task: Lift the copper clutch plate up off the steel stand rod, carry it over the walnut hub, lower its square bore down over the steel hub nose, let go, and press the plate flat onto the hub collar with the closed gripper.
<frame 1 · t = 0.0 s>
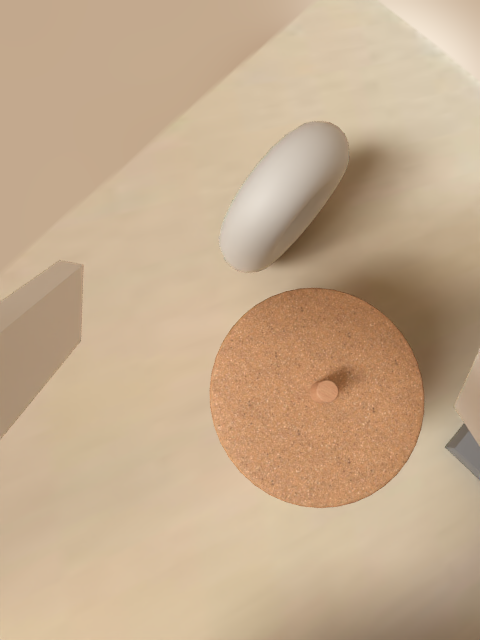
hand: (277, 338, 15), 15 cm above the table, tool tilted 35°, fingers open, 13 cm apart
grey piece: (272, 235, 32), on the table
lidded jar: (291, 397, 30), on the table
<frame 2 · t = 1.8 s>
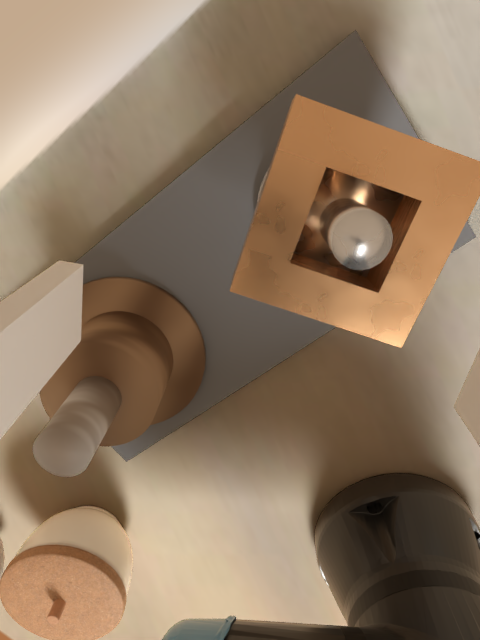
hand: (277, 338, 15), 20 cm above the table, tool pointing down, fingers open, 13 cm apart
steel stand: (327, 207, 32), resting on rubber mat
walnut hub: (126, 353, 37), resting on rubber mat
lidded jar: (93, 527, 46), on the table
rubber mat: (221, 281, 36), on the table
clutch plate: (343, 223, 26), point 8 cm above the table, touching steel stand
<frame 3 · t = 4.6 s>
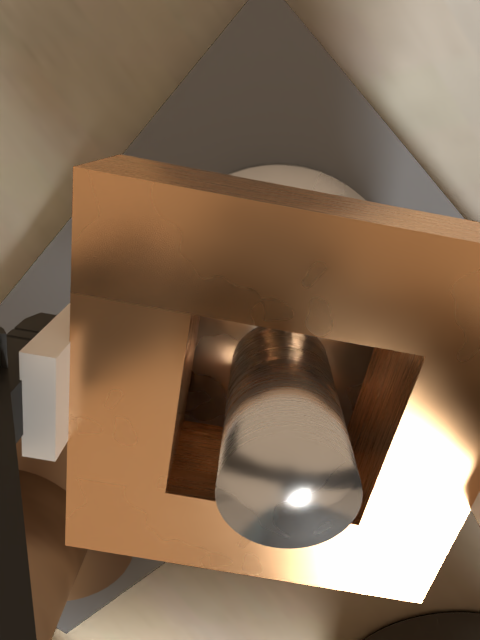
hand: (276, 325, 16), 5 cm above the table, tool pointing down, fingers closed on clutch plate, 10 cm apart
steel stand: (274, 286, 19), resting on rubber mat
walnut hub: (25, 513, 26), resting on rubber mat
rubber mat: (138, 401, 24), on the table
clutch plate: (279, 365, 13), point 8 cm above the table, touching gripper, steel stand
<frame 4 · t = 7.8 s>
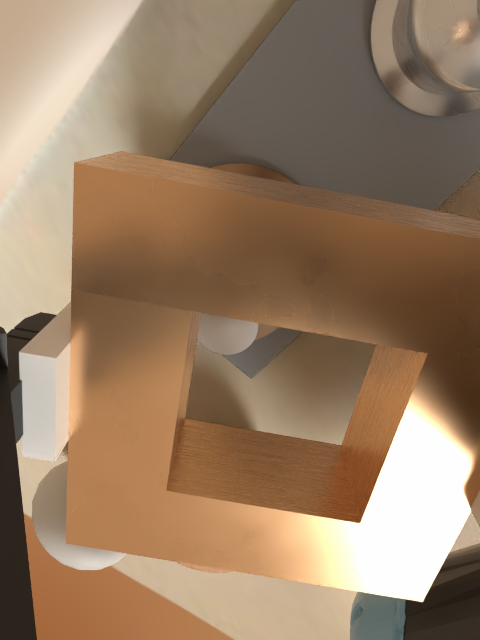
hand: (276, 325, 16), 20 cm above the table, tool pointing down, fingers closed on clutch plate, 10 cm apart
steel stand: (452, 25, 27), resting on rubber mat
walnut hub: (238, 254, 34), resting on rubber mat
grey piece: (108, 469, 45), on the table
rubber mat: (331, 151, 32), on the table
clutch plate: (280, 363, 13), point 23 cm above the table, touching gripper
when the fingers open (7 cm above the table, at t = 11.5 s): clutch plate drops 1 cm, resting on walnut hub.
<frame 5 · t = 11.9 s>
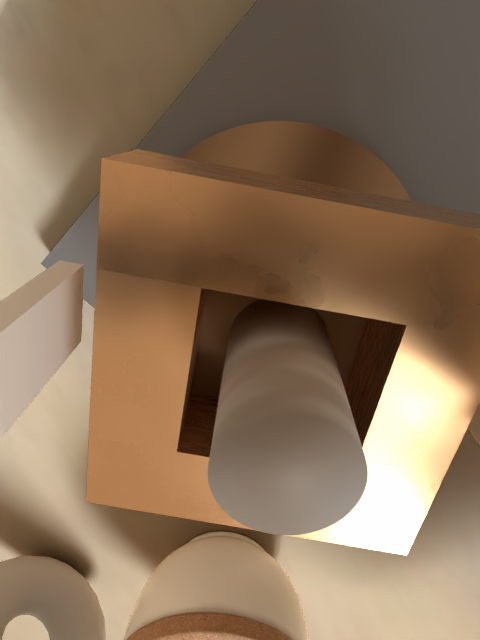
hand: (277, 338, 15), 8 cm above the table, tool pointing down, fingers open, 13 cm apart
walnut hub: (273, 275, 21), resting on rubber mat
grey piece: (62, 564, 32), on the table
lidded jar: (224, 560, 31), on the table
rubber mat: (442, 109, 19), on the table
clutch plate: (278, 341, 15), point 8 cm above the table, touching walnut hub
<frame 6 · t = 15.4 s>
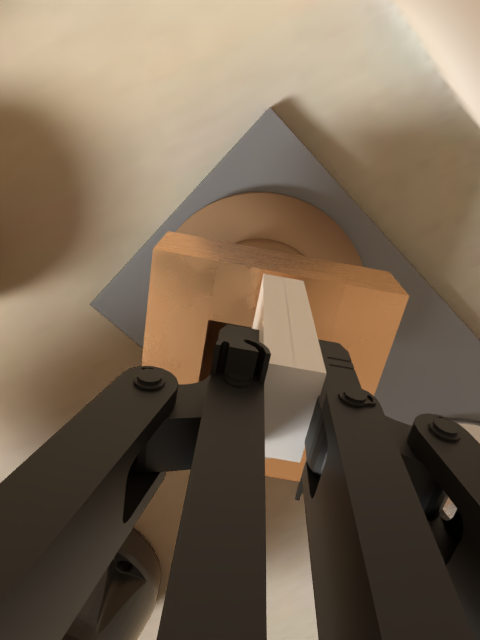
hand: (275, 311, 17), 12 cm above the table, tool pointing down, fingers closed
steel stand: (444, 474, 33), resting on rubber mat
walnut hub: (258, 298, 28), resting on rubber mat
rubber mat: (355, 383, 32), on the table
clutch plate: (258, 349, 22), point 8 cm above the table, touching walnut hub
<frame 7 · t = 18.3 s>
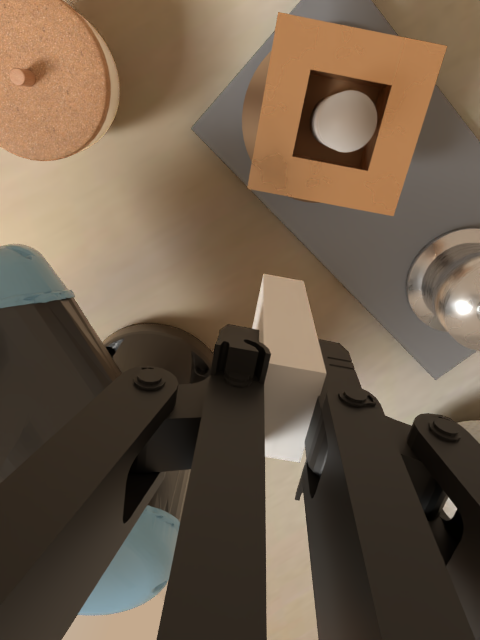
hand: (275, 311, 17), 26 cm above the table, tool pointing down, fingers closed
steel stand: (460, 280, 42), resting on rubber mat
walnut hub: (321, 120, 37), resting on rubber mat
lidded jar: (73, 86, 38), on the table
cereal bowl: (454, 458, 52), on the table
rubber mat: (391, 203, 41), on the table
clutch plate: (333, 121, 31), point 8 cm above the table, touching walnut hub
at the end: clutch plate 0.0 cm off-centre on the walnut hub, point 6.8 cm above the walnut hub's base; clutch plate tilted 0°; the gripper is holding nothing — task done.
